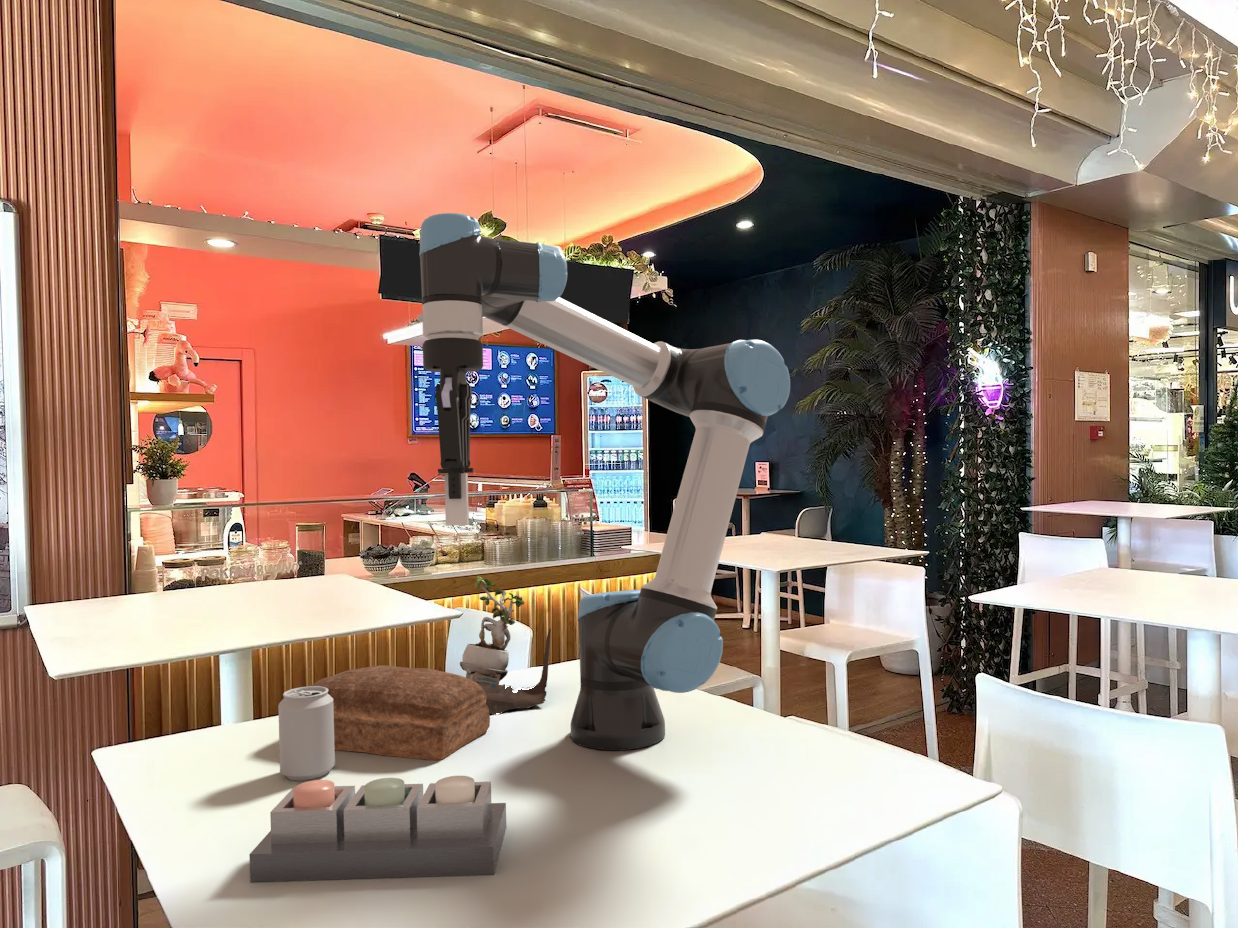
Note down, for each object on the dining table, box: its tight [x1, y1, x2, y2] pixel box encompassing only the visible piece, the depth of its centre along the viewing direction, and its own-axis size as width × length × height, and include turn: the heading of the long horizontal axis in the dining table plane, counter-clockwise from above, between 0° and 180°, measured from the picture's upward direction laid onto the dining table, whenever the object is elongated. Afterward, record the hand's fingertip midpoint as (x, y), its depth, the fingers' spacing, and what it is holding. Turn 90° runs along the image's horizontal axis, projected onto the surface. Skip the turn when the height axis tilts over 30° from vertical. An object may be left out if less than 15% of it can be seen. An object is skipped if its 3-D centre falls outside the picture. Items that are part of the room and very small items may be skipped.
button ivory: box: [434, 775, 475, 804], centre depth 100 cm, size 4×4×4 cm
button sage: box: [364, 777, 405, 806], centre depth 100 cm, size 4×4×4 cm
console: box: [248, 781, 507, 883], centre depth 100 cm, size 26×12×6 cm, turn 91°
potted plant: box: [459, 575, 552, 715], centre depth 165 cm, size 20×19×25 cm
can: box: [277, 685, 336, 782], centre depth 127 cm, size 8×8×12 cm
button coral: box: [292, 779, 335, 808], centre depth 100 cm, size 4×4×4 cm
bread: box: [310, 664, 491, 761], centre depth 142 cm, size 17×29×11 cm, turn 70°
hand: (457, 524), depth 112 cm, fingers closed
